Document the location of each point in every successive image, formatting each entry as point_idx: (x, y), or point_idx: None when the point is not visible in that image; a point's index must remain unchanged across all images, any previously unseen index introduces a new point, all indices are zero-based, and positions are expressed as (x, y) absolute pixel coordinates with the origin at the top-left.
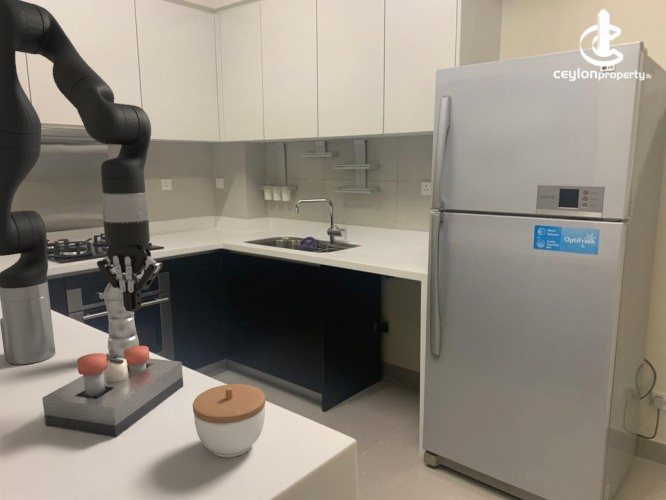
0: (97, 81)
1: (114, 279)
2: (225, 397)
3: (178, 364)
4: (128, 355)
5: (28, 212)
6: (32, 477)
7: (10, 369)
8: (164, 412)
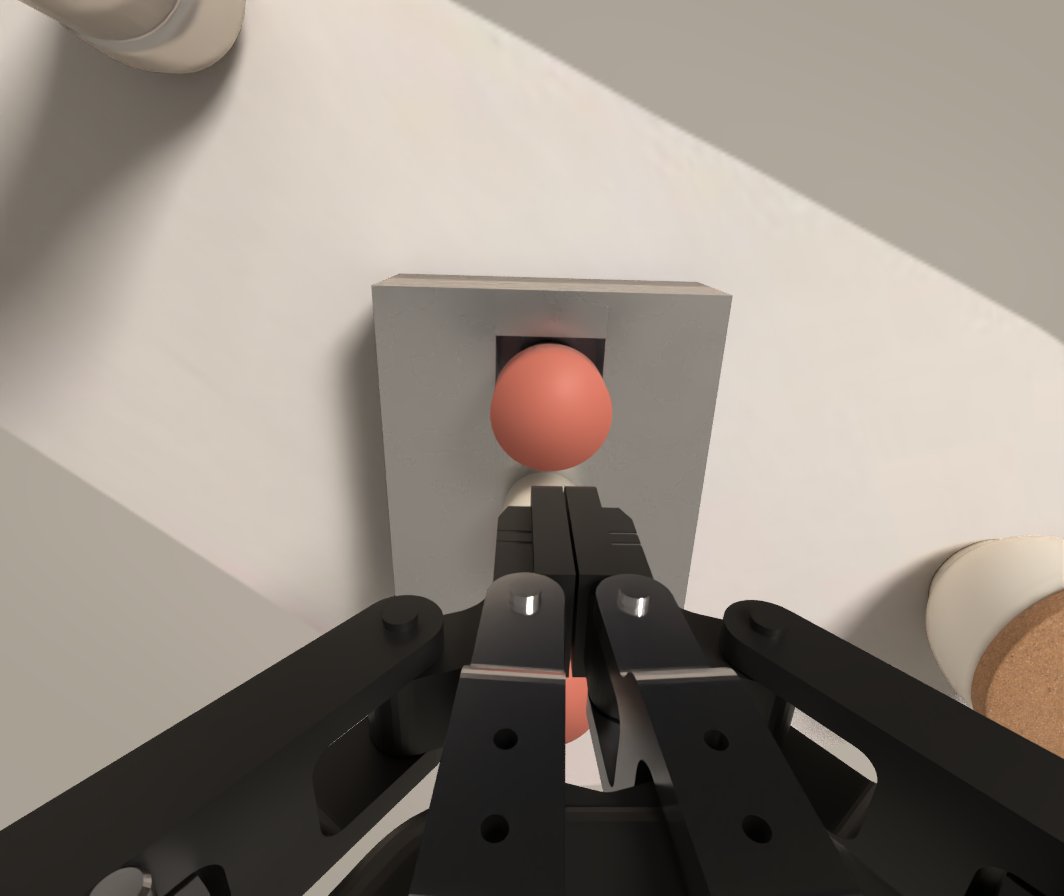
0: None
1: (397, 800)
2: None
3: (727, 324)
4: (549, 469)
5: None
6: (571, 751)
7: None
8: (720, 476)
